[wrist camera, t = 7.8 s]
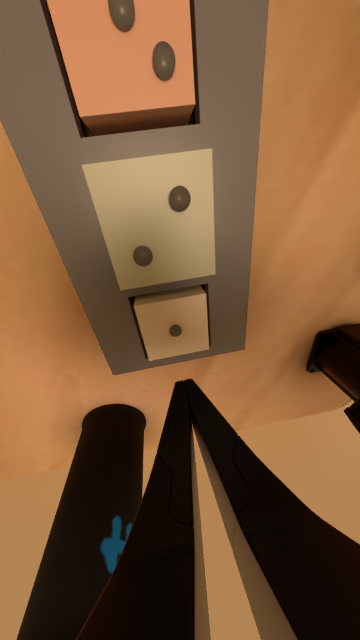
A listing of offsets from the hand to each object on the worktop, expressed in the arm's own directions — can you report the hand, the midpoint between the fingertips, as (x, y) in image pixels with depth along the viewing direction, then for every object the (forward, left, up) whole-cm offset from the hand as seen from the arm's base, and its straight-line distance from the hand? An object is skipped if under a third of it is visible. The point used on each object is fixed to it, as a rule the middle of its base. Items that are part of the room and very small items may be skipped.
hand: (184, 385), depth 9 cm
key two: (+7, 0, -7) cm, 10 cm away
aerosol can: (-16, +10, -10) cm, 21 cm away
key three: (+14, 0, -9) cm, 17 cm away
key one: (0, 0, -10) cm, 10 cm away
